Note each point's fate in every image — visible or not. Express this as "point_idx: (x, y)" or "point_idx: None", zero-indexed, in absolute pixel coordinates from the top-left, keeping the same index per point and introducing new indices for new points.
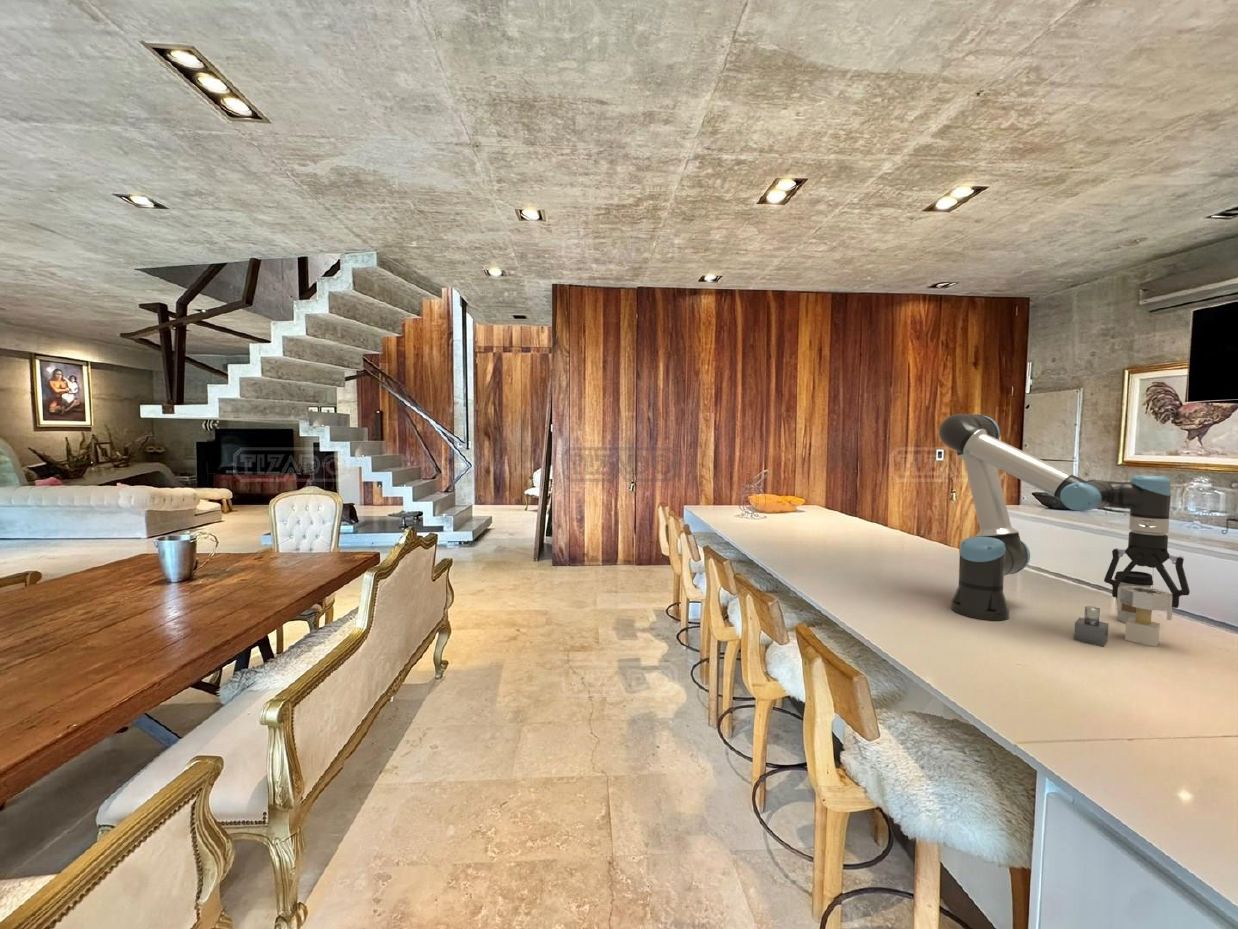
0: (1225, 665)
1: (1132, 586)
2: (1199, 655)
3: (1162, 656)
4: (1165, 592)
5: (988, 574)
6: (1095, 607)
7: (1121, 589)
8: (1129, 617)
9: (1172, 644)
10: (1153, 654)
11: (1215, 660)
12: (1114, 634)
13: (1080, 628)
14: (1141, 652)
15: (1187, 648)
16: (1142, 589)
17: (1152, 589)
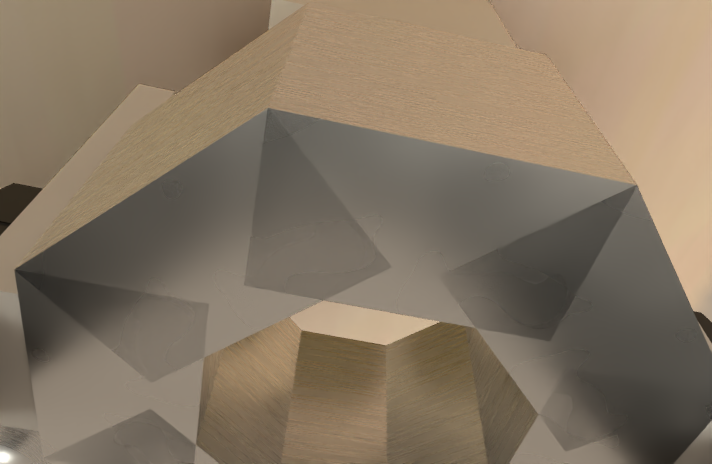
0: (699, 286)
1: (170, 235)
2: (642, 187)
3: (424, 319)
4: (676, 390)
5: None
6: (1, 454)
7: (58, 443)
8: (271, 4)
9: (566, 24)
10: (388, 313)
11: (692, 231)
12: (205, 22)
13: None
14: (337, 315)
15: (637, 67)
16: (345, 288)
17: (519, 288)
